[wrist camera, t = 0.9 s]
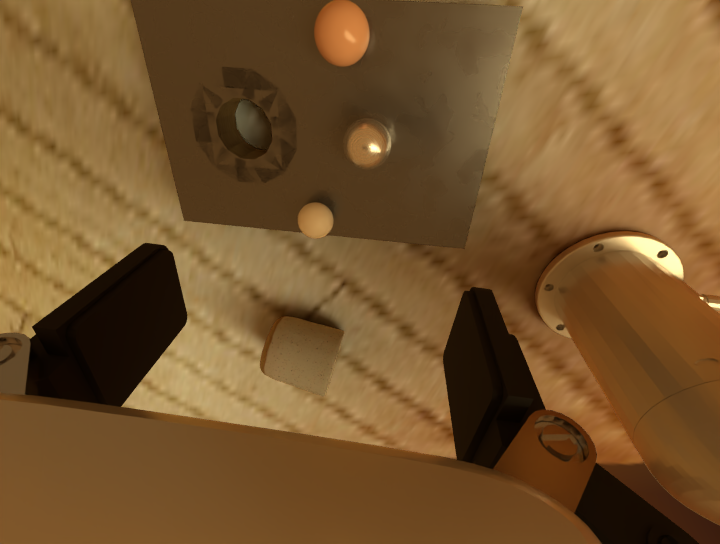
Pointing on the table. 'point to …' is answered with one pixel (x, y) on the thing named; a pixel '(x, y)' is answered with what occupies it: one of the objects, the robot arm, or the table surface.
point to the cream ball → (315, 220)
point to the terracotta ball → (341, 33)
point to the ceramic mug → (301, 353)
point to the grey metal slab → (329, 112)
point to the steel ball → (367, 143)
